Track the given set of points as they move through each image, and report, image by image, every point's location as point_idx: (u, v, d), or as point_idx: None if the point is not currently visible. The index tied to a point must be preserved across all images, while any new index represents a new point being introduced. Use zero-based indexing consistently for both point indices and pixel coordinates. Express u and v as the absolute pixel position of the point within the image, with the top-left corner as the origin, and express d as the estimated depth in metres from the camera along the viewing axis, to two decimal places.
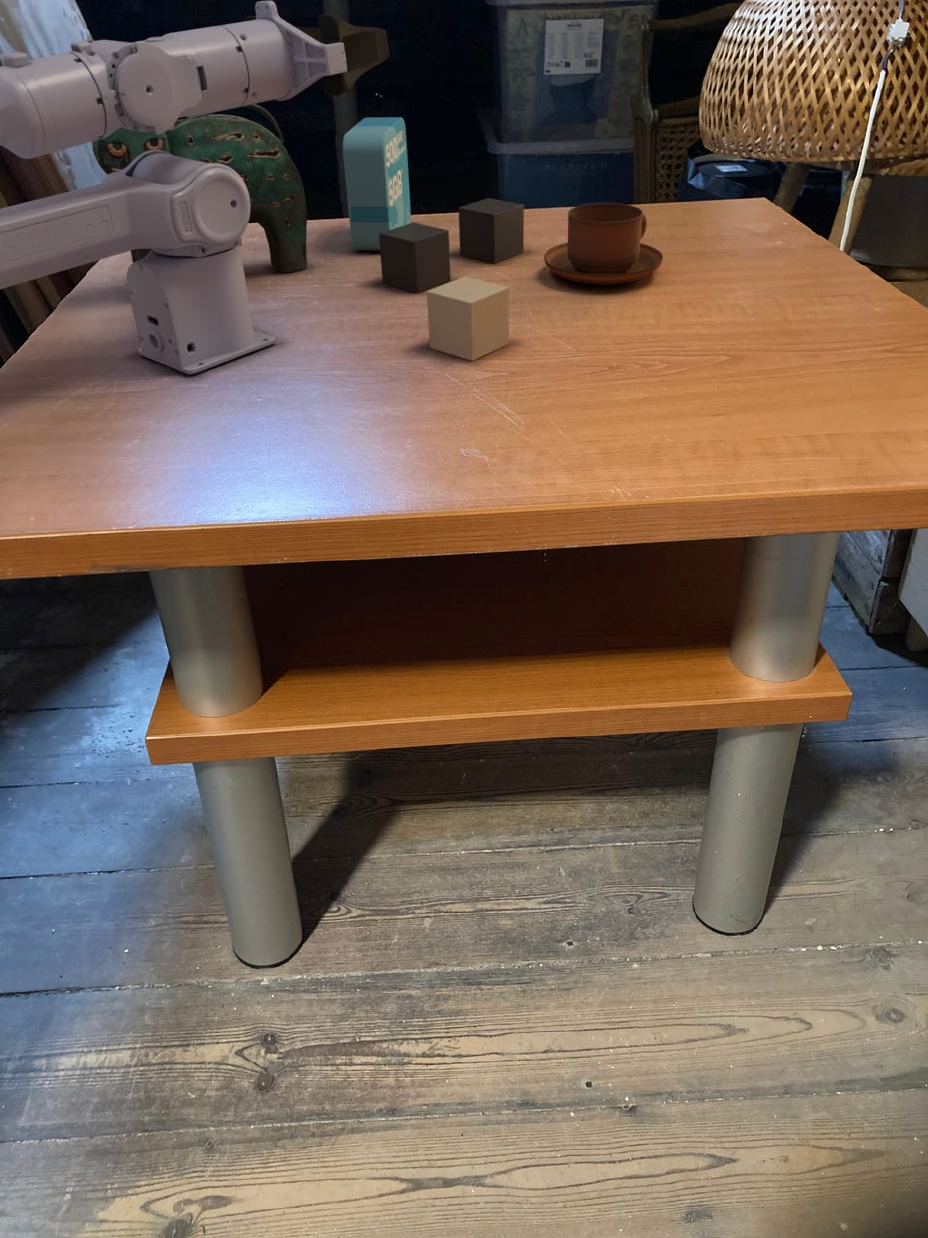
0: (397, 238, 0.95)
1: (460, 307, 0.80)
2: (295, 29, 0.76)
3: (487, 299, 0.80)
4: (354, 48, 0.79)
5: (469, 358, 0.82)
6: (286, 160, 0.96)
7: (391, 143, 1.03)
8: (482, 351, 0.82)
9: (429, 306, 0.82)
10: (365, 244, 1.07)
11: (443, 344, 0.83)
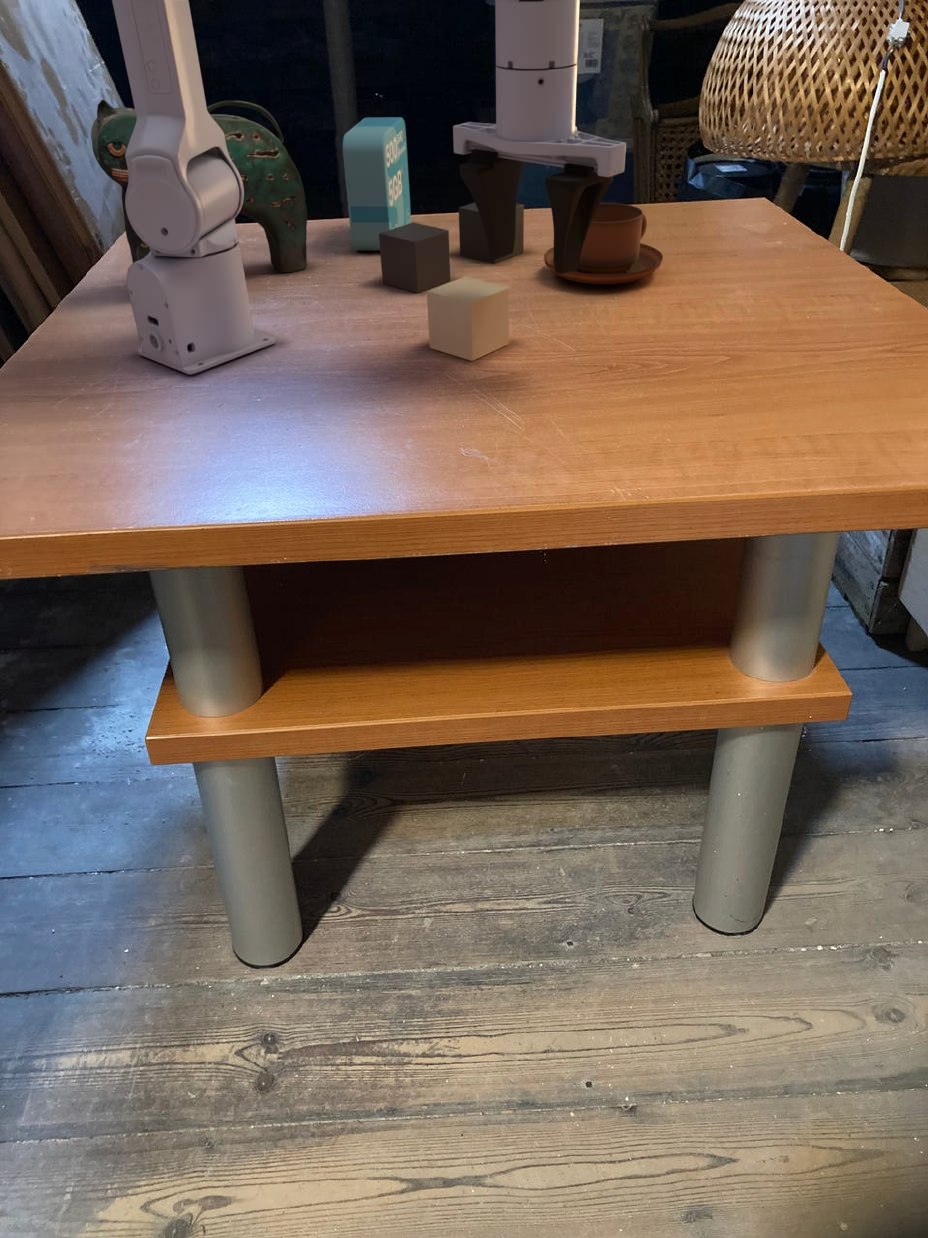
0: (397, 238, 0.95)
1: (460, 307, 0.80)
2: (588, 139, 0.70)
3: (487, 299, 0.80)
4: (575, 218, 0.71)
5: (469, 358, 0.82)
6: (286, 160, 0.96)
7: (391, 143, 1.03)
8: (482, 351, 0.82)
9: (429, 306, 0.82)
10: (365, 244, 1.07)
11: (443, 344, 0.83)
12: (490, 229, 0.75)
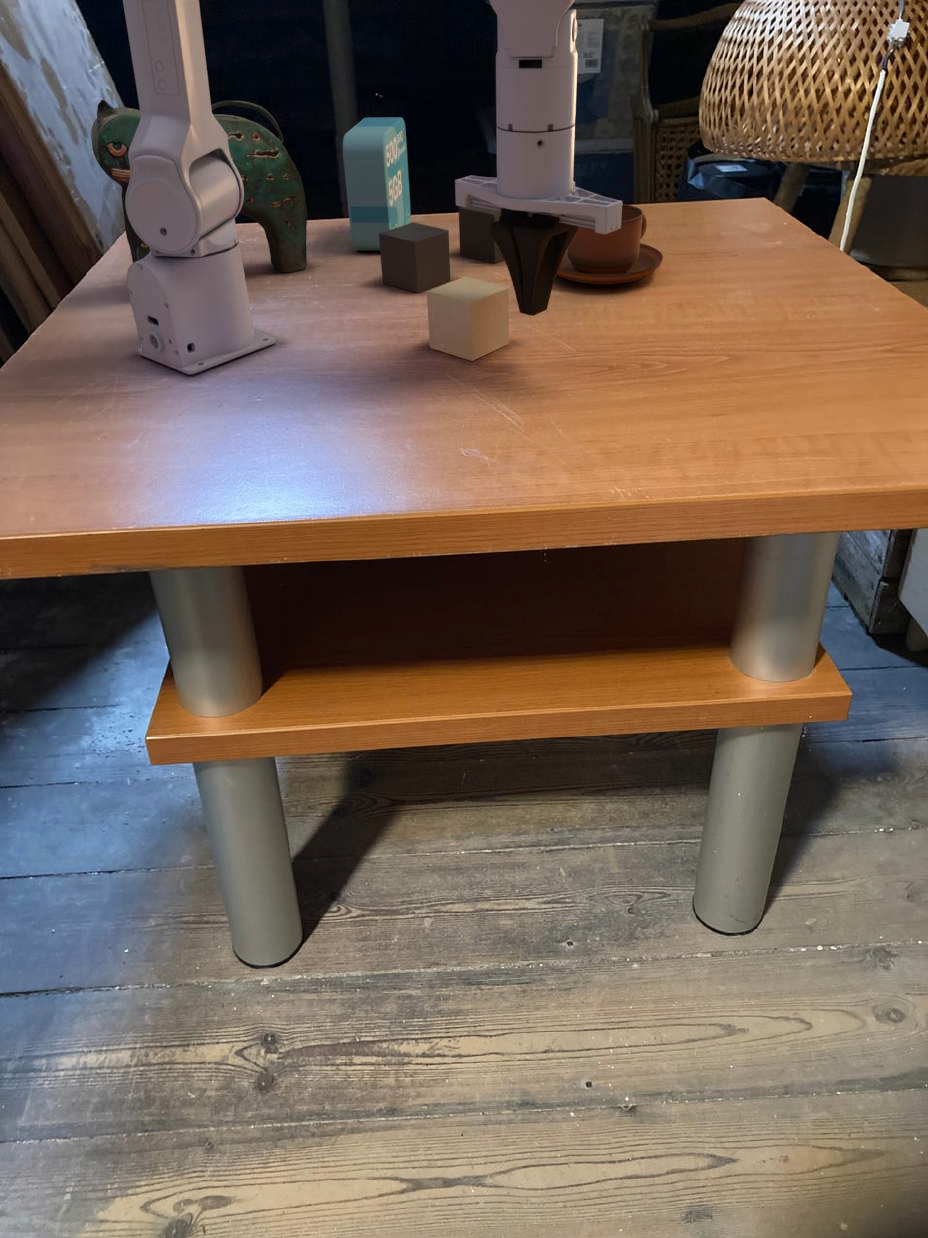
0: (397, 238, 0.95)
1: (460, 307, 0.80)
2: None
3: (487, 299, 0.80)
4: (543, 263, 0.75)
5: (469, 358, 0.82)
6: (286, 160, 0.96)
7: (391, 143, 1.03)
8: (482, 351, 0.82)
9: (429, 306, 0.82)
10: (365, 244, 1.07)
11: (443, 344, 0.83)
12: (519, 286, 0.76)
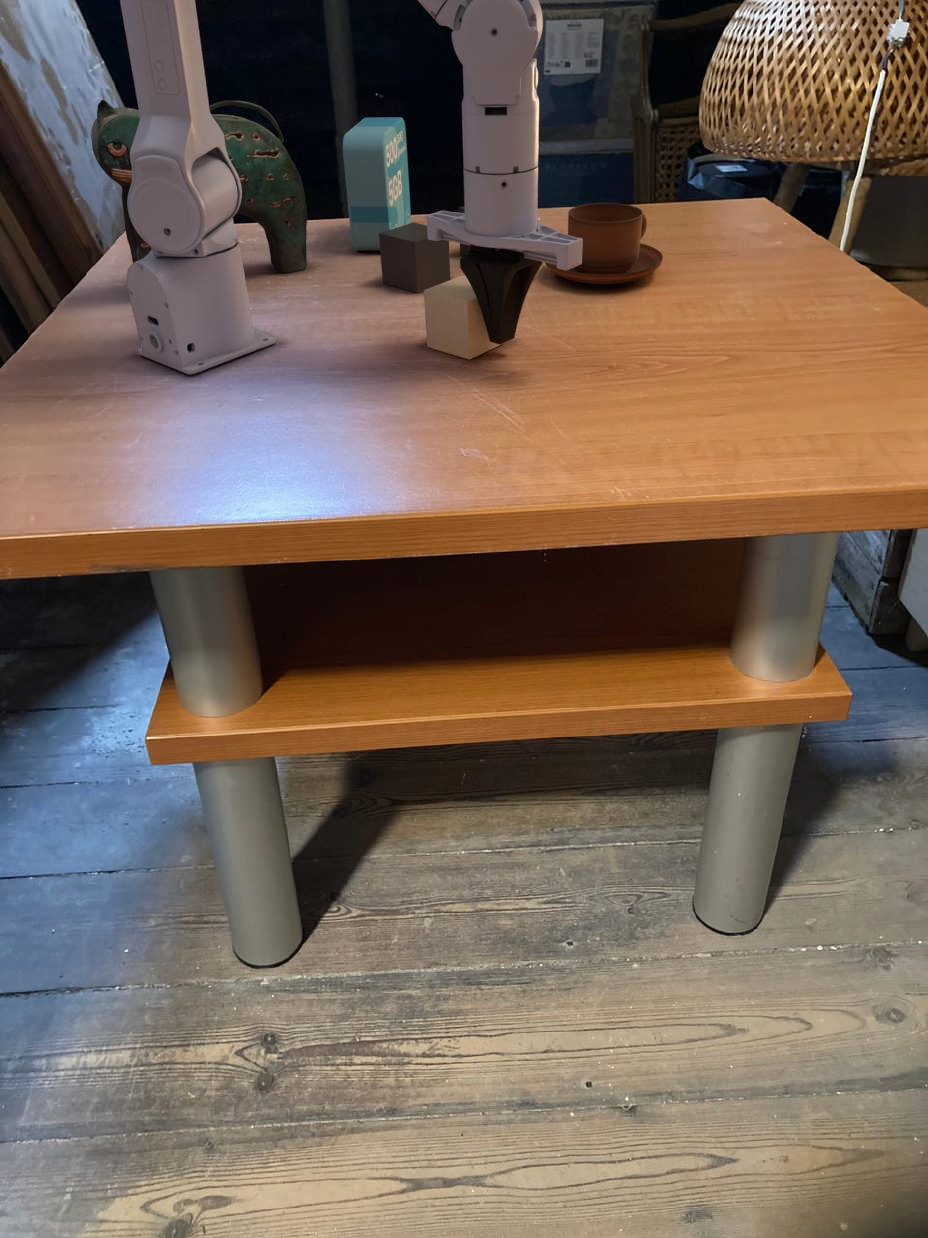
0: (397, 238, 0.95)
1: (457, 306, 0.80)
2: None
3: None
4: (509, 295, 0.79)
5: (466, 357, 0.82)
6: (286, 160, 0.96)
7: (391, 143, 1.03)
8: (479, 350, 0.82)
9: (426, 305, 0.82)
10: (365, 244, 1.07)
11: (440, 343, 0.83)
12: (488, 316, 0.79)
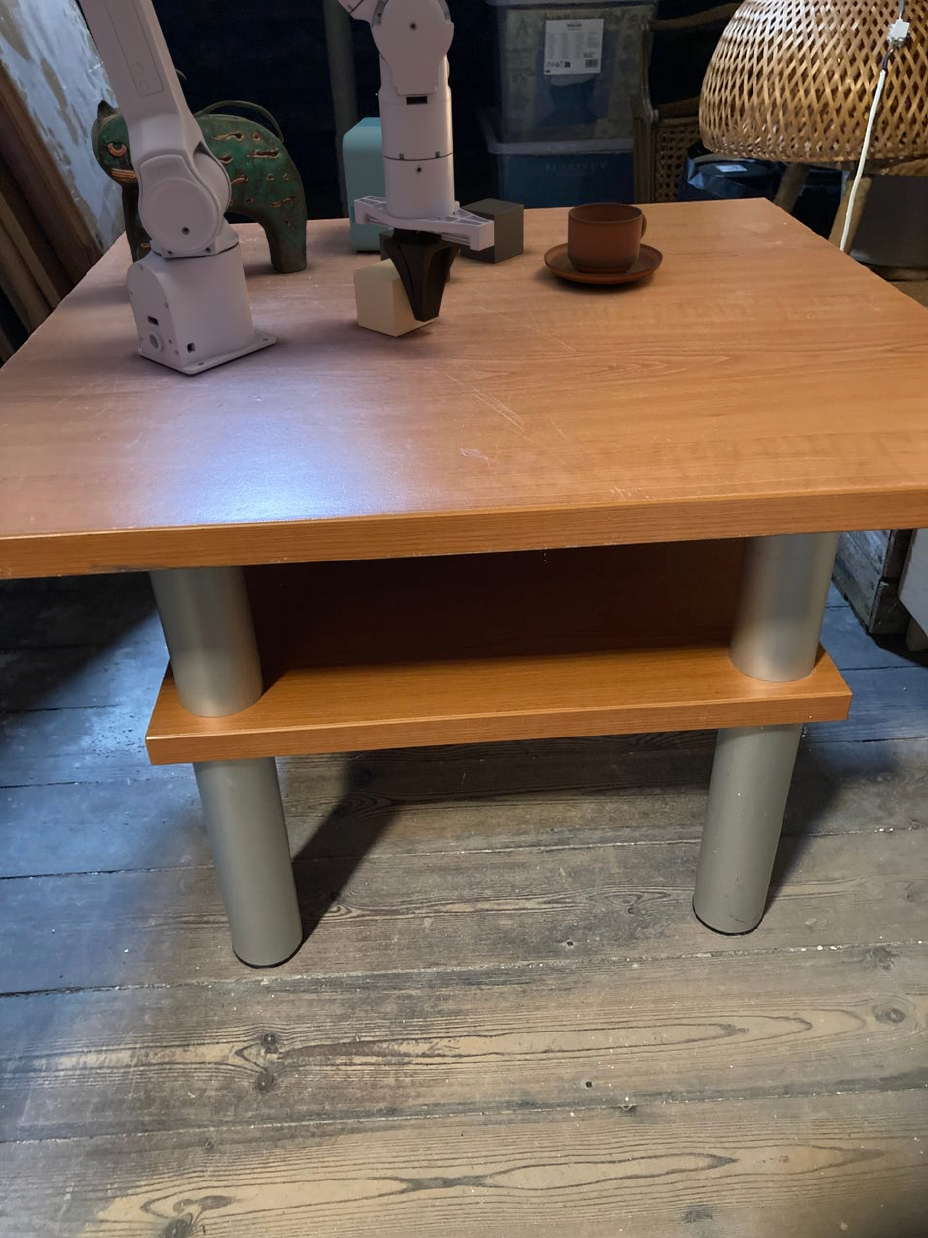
0: None
1: (383, 285, 0.85)
2: (466, 215, 0.81)
3: None
4: (431, 275, 0.84)
5: (393, 334, 0.87)
6: (286, 160, 0.96)
7: None
8: (406, 328, 0.87)
9: (355, 285, 0.87)
10: (365, 244, 1.07)
11: (369, 322, 0.88)
12: (412, 296, 0.84)
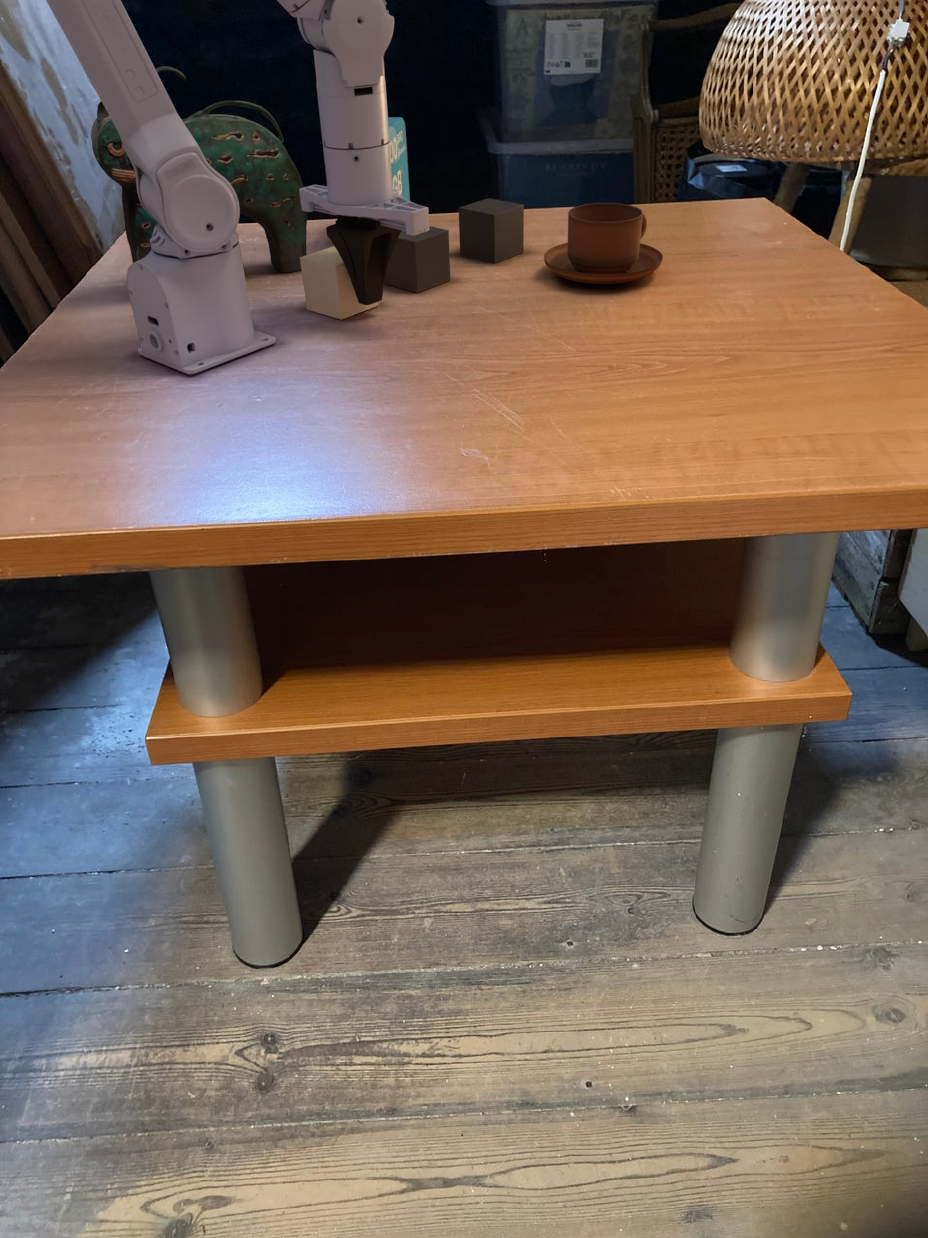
0: None
1: (327, 270, 0.89)
2: (404, 203, 0.84)
3: None
4: (373, 260, 0.88)
5: (339, 317, 0.91)
6: (286, 160, 0.96)
7: (391, 143, 1.03)
8: (351, 311, 0.91)
9: (303, 271, 0.91)
10: None
11: (317, 305, 0.92)
12: (355, 280, 0.88)
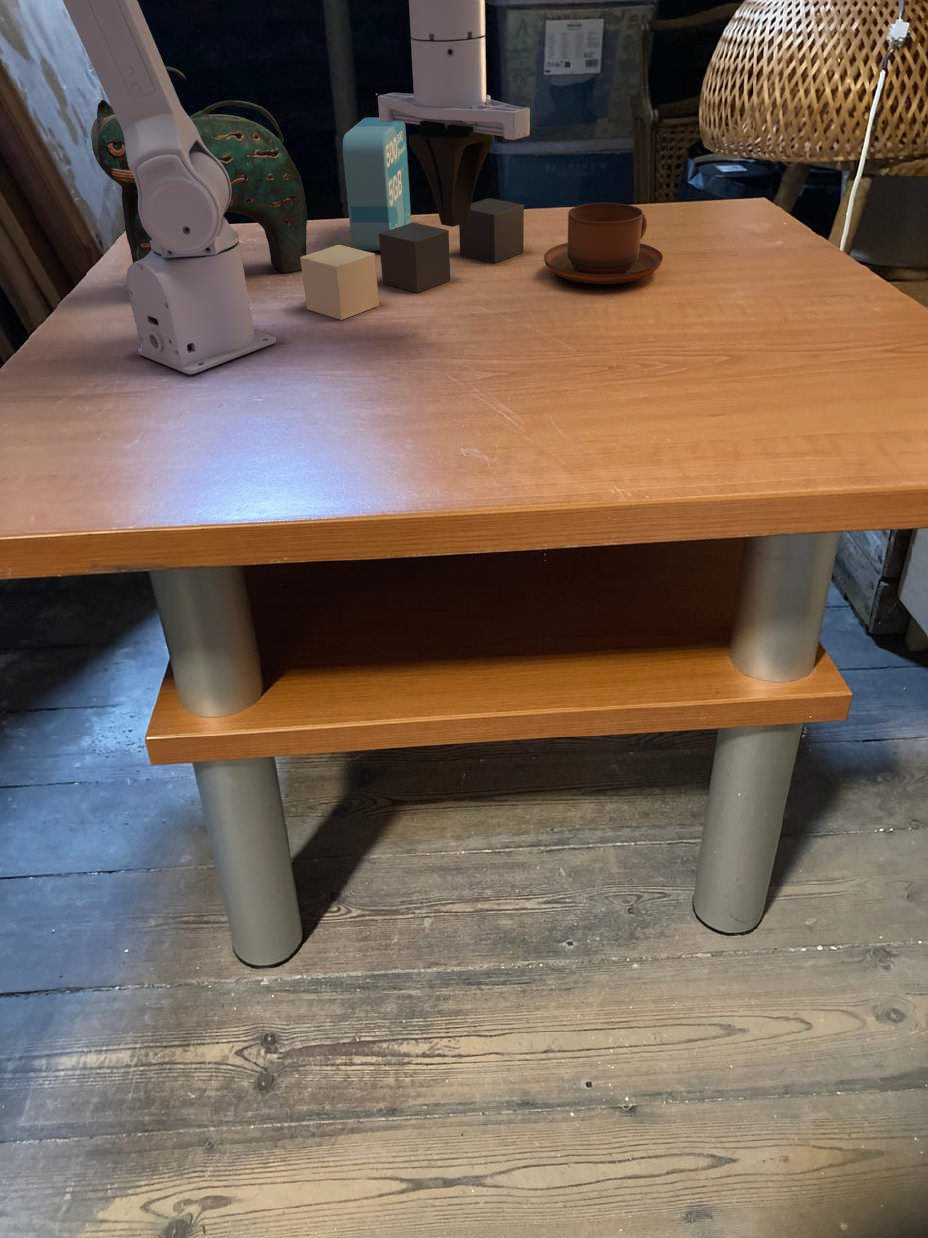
0: (397, 238, 0.95)
1: (328, 271, 0.89)
2: None
3: (352, 264, 0.89)
4: (461, 175, 0.79)
5: (339, 317, 0.91)
6: (286, 160, 0.96)
7: (391, 143, 1.03)
8: (351, 312, 0.91)
9: (303, 270, 0.91)
10: (365, 244, 1.07)
11: (317, 305, 0.92)
12: (439, 197, 0.80)
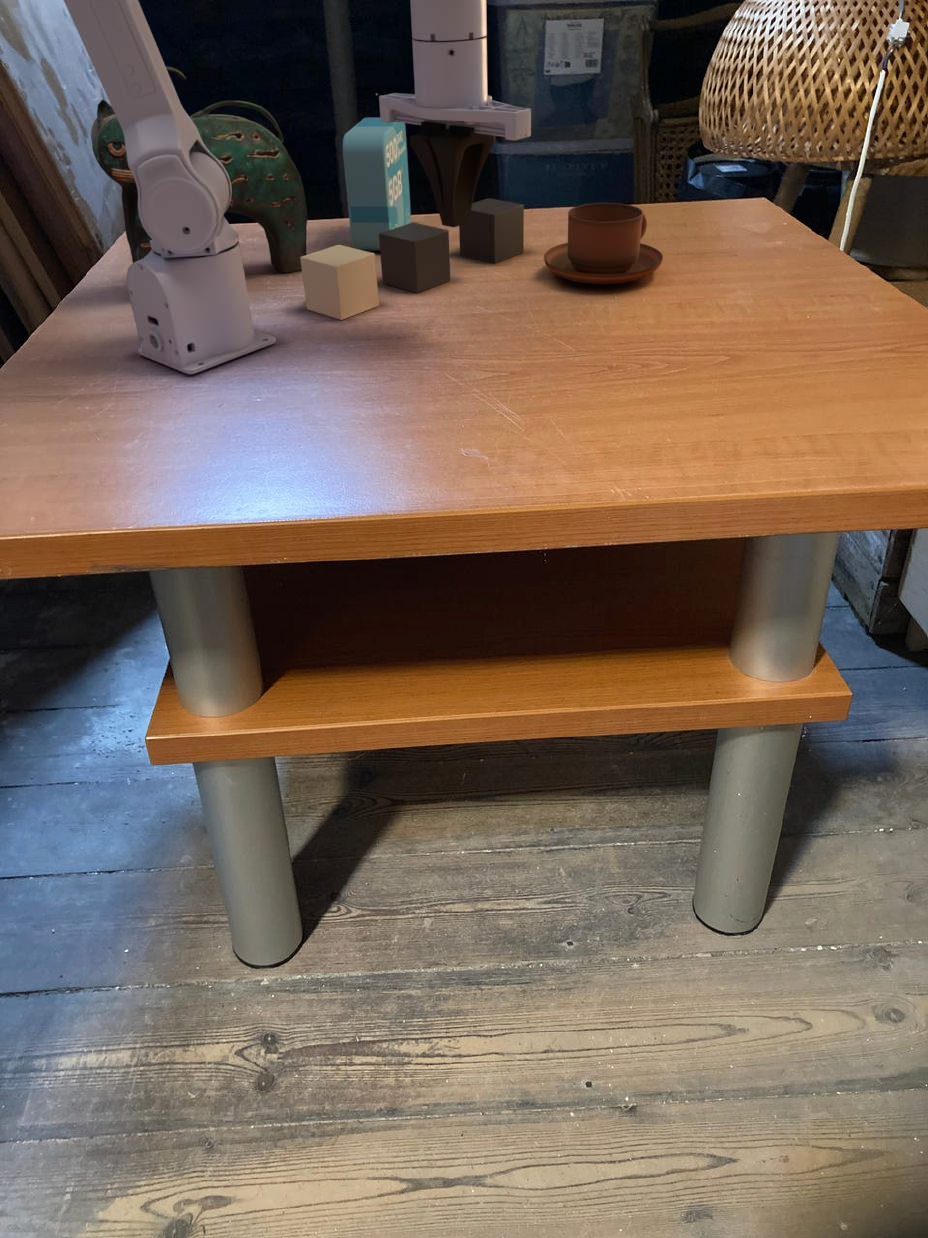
0: (397, 238, 0.95)
1: (328, 271, 0.89)
2: (499, 107, 0.76)
3: (352, 264, 0.89)
4: (462, 175, 0.79)
5: (339, 317, 0.91)
6: (286, 160, 0.96)
7: (391, 143, 1.03)
8: (351, 312, 0.91)
9: (303, 270, 0.91)
10: (365, 244, 1.07)
11: (317, 305, 0.92)
12: (440, 197, 0.80)
